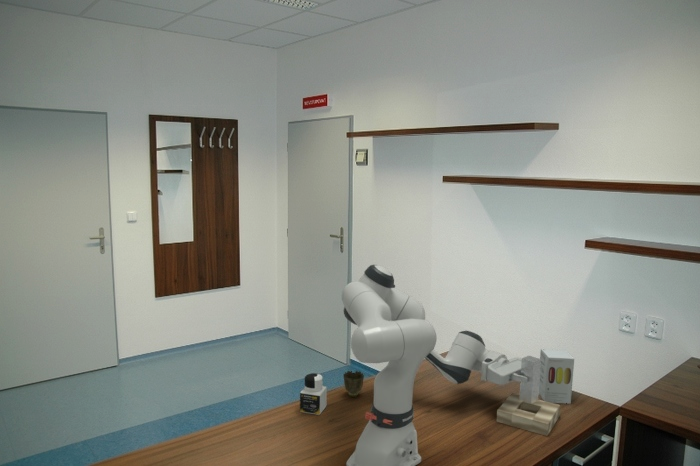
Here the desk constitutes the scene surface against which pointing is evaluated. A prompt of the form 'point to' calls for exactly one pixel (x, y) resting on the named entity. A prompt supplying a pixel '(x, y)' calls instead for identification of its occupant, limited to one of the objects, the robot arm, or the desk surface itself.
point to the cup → (353, 382)
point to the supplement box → (556, 376)
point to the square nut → (528, 414)
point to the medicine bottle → (313, 395)
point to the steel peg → (530, 379)
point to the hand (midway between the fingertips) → (532, 378)
